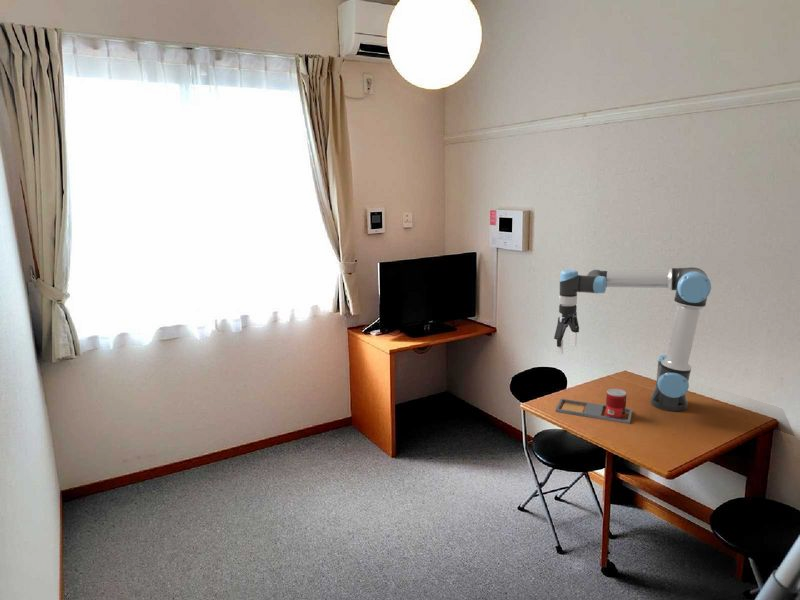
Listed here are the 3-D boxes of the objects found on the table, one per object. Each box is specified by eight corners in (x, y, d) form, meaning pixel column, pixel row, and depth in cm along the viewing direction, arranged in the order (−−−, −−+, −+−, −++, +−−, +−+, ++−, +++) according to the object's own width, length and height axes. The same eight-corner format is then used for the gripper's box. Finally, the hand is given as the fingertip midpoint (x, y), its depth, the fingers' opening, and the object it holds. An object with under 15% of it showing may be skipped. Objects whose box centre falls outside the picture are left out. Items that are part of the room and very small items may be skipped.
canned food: (626, 419, 237) (628, 395, 235) (607, 418, 238) (608, 394, 236) (622, 411, 244) (624, 388, 242) (603, 411, 246) (605, 388, 243)
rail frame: (632, 411, 244) (632, 409, 244) (629, 423, 233) (630, 421, 233) (560, 400, 258) (560, 398, 257) (555, 411, 246) (555, 409, 246)
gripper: (572, 298, 258) (570, 341, 263) (546, 308, 240) (545, 355, 245) (587, 300, 253) (586, 344, 258) (563, 311, 235) (561, 358, 240)
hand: (566, 349), depth 251 cm, fingers open, 13 cm apart
